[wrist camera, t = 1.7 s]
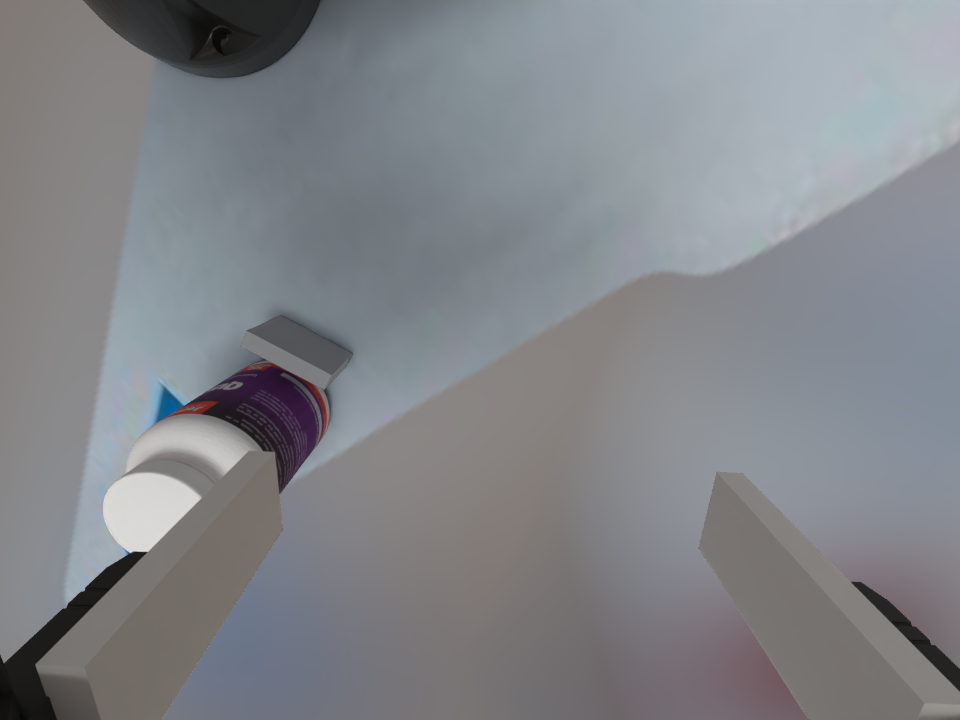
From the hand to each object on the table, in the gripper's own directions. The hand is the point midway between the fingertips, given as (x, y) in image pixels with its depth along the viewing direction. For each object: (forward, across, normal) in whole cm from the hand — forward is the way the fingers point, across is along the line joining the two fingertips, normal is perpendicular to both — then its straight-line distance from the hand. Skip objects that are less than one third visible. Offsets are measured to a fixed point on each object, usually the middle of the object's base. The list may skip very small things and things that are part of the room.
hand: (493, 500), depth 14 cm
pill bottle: (+22, -16, -7) cm, 28 cm away
